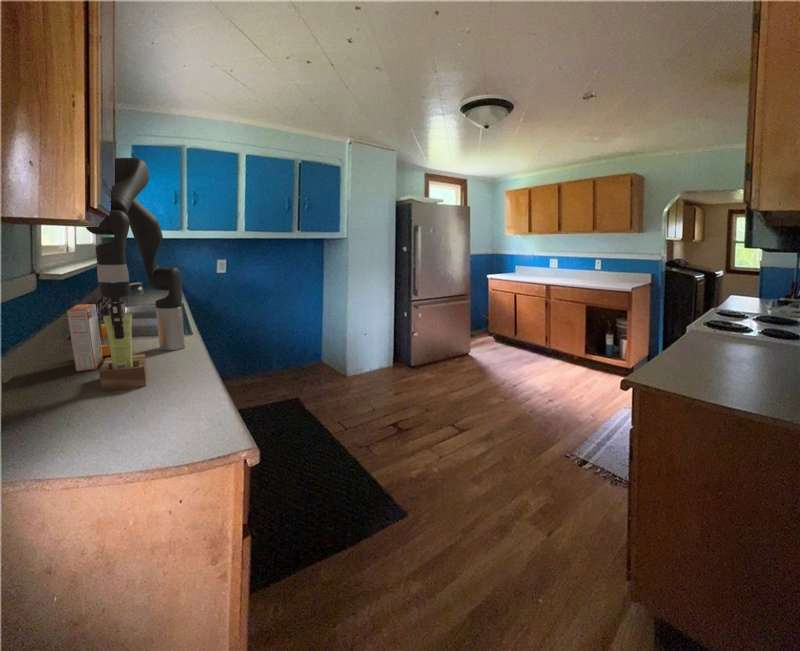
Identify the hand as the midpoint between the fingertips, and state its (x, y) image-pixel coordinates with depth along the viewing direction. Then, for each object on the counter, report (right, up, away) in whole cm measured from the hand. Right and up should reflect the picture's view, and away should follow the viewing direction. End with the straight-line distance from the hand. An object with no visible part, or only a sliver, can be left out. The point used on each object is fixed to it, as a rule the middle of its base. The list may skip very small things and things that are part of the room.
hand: (120, 336), depth 123 cm
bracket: (-29, -8, +35) cm, 46 cm away
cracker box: (-25, -11, +20) cm, 34 cm away
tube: (0, -13, +3) cm, 13 cm away
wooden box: (-2, -14, +5) cm, 15 cm away
